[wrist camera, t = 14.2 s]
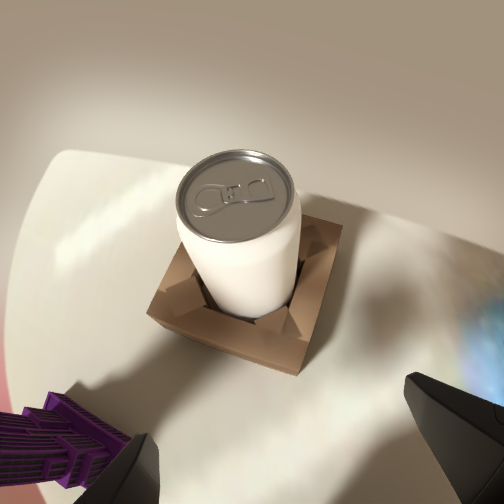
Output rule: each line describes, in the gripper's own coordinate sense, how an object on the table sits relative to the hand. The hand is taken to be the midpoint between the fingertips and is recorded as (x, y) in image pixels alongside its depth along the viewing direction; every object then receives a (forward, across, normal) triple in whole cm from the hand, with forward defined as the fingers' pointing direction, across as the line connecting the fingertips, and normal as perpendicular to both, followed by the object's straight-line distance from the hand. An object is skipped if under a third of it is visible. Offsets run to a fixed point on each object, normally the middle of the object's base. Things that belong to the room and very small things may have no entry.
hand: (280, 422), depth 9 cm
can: (+16, 0, +2) cm, 16 cm away
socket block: (+17, 0, +2) cm, 17 cm away
